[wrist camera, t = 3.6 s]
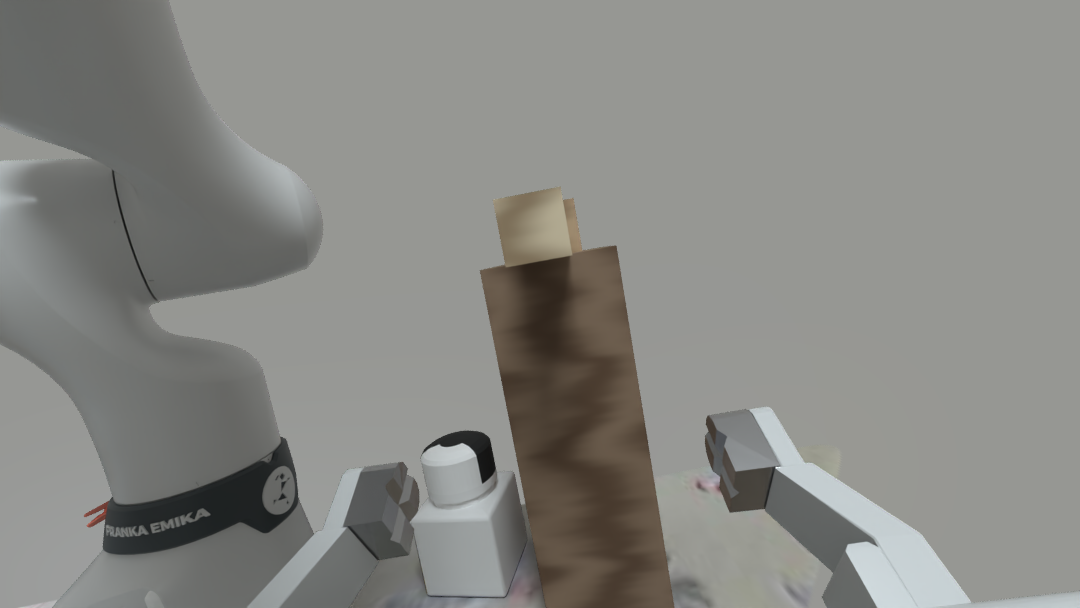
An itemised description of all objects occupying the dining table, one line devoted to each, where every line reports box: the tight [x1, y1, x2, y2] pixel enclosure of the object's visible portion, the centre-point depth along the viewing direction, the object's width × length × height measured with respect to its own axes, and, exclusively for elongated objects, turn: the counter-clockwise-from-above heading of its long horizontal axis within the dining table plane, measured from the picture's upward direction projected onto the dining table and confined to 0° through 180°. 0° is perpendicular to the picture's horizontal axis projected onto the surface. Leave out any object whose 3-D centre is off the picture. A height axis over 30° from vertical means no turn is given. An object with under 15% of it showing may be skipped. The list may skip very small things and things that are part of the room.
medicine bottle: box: [411, 431, 527, 597], centre depth 38 cm, size 7×7×12 cm
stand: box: [480, 246, 674, 608], centre depth 35 cm, size 9×12×26 cm
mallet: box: [493, 187, 582, 267], centre depth 29 cm, size 5×20×4 cm, turn 177°
